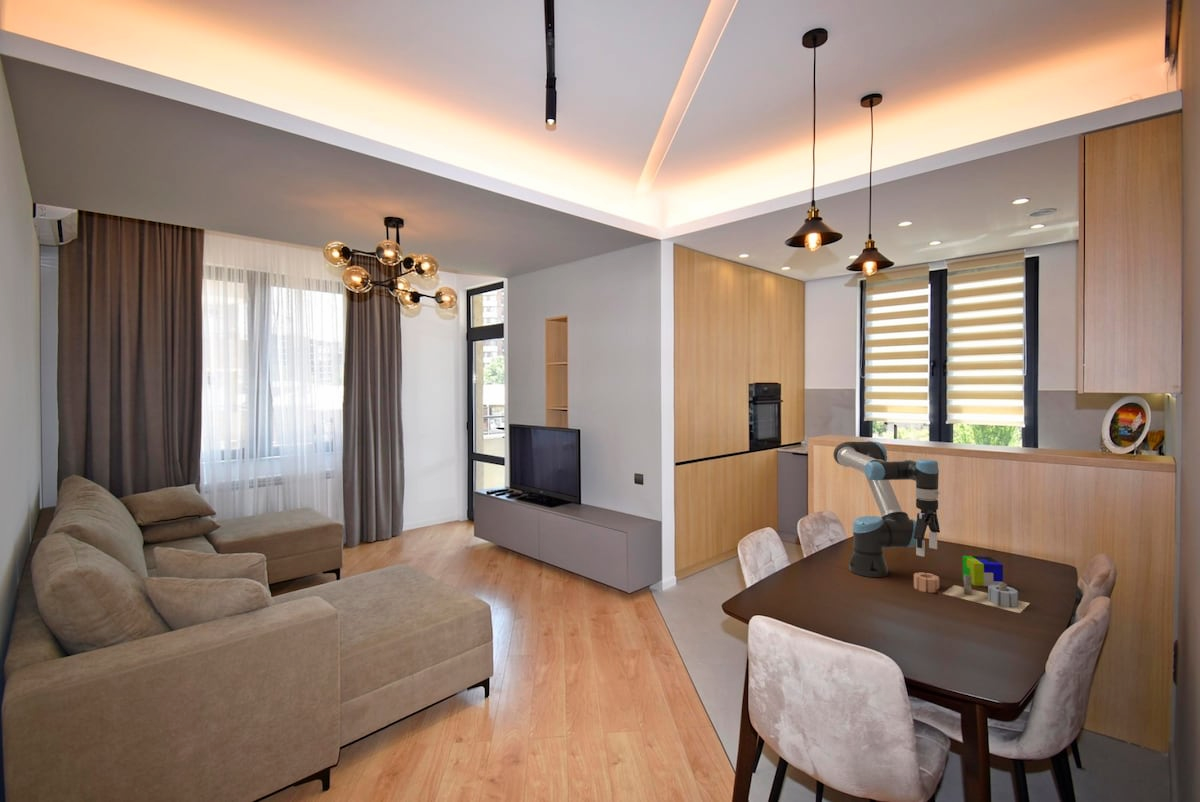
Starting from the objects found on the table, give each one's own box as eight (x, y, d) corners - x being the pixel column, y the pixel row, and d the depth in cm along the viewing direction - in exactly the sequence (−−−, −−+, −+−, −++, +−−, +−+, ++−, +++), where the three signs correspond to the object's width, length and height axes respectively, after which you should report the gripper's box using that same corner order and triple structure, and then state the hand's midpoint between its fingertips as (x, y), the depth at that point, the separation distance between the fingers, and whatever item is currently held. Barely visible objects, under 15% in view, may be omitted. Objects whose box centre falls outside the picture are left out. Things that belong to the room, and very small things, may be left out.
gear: (990, 604, 194) (990, 591, 194) (986, 596, 201) (986, 583, 201) (1019, 608, 190) (1019, 594, 190) (1014, 600, 197) (1014, 587, 197)
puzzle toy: (1002, 590, 211) (1002, 564, 210) (974, 588, 213) (974, 563, 212) (989, 581, 220) (989, 556, 220) (962, 579, 222) (962, 555, 222)
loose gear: (910, 588, 214) (910, 575, 214) (919, 583, 219) (919, 570, 219) (934, 594, 207) (934, 581, 207) (942, 588, 213) (942, 576, 213)
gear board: (942, 596, 205) (942, 575, 205) (954, 588, 213) (954, 567, 213) (1019, 616, 186) (1019, 593, 186) (1029, 606, 195) (1029, 584, 194)
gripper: (925, 505, 202) (925, 561, 202) (948, 495, 218) (948, 547, 218) (904, 502, 207) (904, 556, 208) (928, 492, 223) (928, 543, 224)
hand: (926, 552), depth 213 cm, fingers open, 13 cm apart
